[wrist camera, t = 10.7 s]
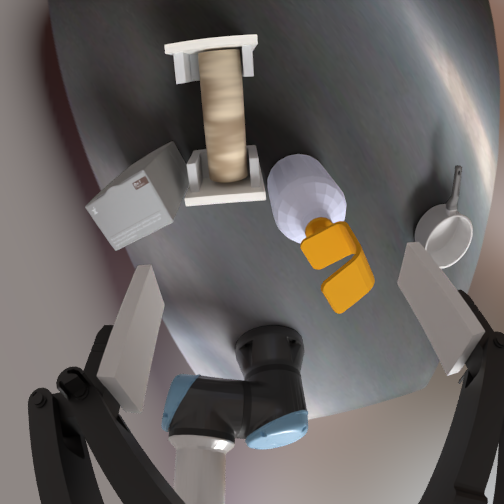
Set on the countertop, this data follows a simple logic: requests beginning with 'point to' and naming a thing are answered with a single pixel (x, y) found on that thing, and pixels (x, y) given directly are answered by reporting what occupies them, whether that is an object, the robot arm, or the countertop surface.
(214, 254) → the countertop surface
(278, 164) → the soap bottle
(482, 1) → the countertop surface
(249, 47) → the bracket
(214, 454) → the robot arm
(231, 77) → the rail
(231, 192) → the bracket
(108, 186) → the skincare box
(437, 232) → the saucepan
